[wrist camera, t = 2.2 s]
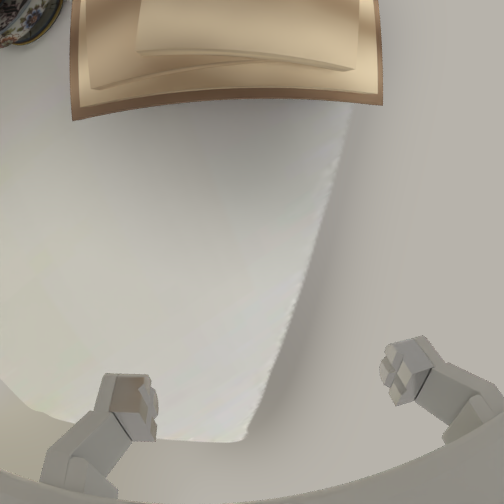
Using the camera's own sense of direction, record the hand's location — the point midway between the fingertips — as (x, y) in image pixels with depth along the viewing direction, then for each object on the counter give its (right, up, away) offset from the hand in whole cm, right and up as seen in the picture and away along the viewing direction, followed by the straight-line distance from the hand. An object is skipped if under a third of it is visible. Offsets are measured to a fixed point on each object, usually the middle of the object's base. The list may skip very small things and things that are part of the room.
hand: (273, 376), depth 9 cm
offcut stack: (-2, +19, +6) cm, 20 cm away
